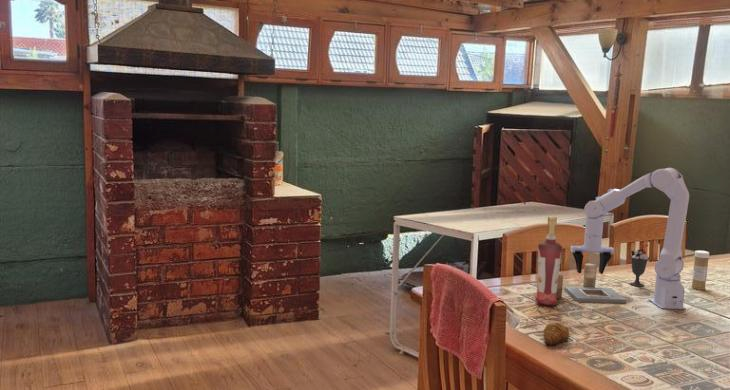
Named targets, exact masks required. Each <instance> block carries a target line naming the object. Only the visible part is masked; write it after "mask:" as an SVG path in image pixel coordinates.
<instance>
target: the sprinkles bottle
mask: <svg viewBox="0 0 730 390" xmlns="http://www.w3.org/2000/svg"><path fill="white" fill-rule="evenodd" d="M709 259H710V252H709V251H706V250H701V249H700V250H695V252H694V261H693V262H694V264H693V271H692V277H691V278H692V282H691V288H692V289H693V290H699V291H703V290H705V289H706V282H707V276H708V269H709V268H708V267H709V266H708V265H709Z"/></svg>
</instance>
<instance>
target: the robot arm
mask: <svg viewBox="0 0 730 390" xmlns="http://www.w3.org/2000/svg"><path fill="white" fill-rule="evenodd" d="M685 183H686V182H685V181H684V175H683V174H681V172H679V171H678V170H677V169H676V168H674V167H666V168H659V169H656V170H653V172H649V173H647V174H644V175H642V176H641V177H639V178H638V179H635V180H634V181H633V182H631V183H629V184H628V185H626V186H625V187H623V188H621V189H618V188H614V189H613V188H609V189H608V190H607V192H606V193H604V194H602V195H601V196H596V197H595V200H589V201H588V202H587V203H586V204H585V206H584V209H583V211H584V214H585V228H584V240H583V245H570V251H569V252H571V253H572V256H573V257H574V261H575V265H576V272H577V273H578V274H582V270H583V269H582V267H583V261H584V254H583V253H586V254H587V253H589V254H590V253H592V254H593V253H595V254H599V264H598V265H599V266H598V273H599V274H600V275H603V274H604V272H605V268H606V266H607V264H608V263H609V261H611V258H612V256H613V255H614V253H615V248H614V247H612V246H602V241H603V232H604V231H603V230H604V219H605V217H604V216H605V215H606V214H607V213H609V212H610V211H612V210H614V209H616V208H618V207H619V206H621V205H624V204H625V202H626V199H627V198H628V197H629V196H632V195H634V194H636V193H638V192H640V191H642V190H644V189H646V188H656V189H657V190H659V191H661V192H662V193H664V194H665V195H666V196H667V198H668V199H670V204H669V209H668V217H667V221H666V227H665V228H666V229H665V234H664V240H663V247H662V249H661V251H660V254H659V257H658V260H657V261H656V262H655V264H654V271H655V283H654V290H653V291H654V292H653V297H652V298H651V297H649V298H648V301H650V302H651V303H653V304H654V305H655V306H657V307H658V308H660V309H671V310H672V309H673V310H686V307H685V306H684V300H685V292H686V291H685V287H684V285H683V284H682V282H681V279H682V277H681V272H682V271H683V270H684V267H685V265H684V261H683V251H682V246H683V245H682V244H683V238H684V231H685V226H686V219H687V213H688V207H689V201H690V192H689V190H688V187H687V185H686V184H685Z"/></svg>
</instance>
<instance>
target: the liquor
mask: <svg viewBox="0 0 730 390" xmlns="http://www.w3.org/2000/svg"><path fill="white" fill-rule="evenodd" d="M557 218H558V217H557V216H547V230H546V232H547V233H546V237H545V241H542V242H540V243H539V244H538V245H537V284H536V285H537V287H536V296H535V298H534V299H535V301H536V303H537V304H539V305H541V306H543V307H552V306H554V305H555V304H557V303H558V298H556V295H557V285H558V277H559V274H560V269H561V262H562V253H563V246H562V245H561V244H560V243H559V242H557V241H556V240H557V239H556V237H557V236H556V227H557V221H558V219H557Z"/></svg>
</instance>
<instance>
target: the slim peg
mask: <svg viewBox="0 0 730 390" xmlns="http://www.w3.org/2000/svg"><path fill="white" fill-rule="evenodd" d="M583 269H584V272H583V283H582V287H592V288H596V280H597V269H598V265H597V264H594V263H584V268H583Z"/></svg>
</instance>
